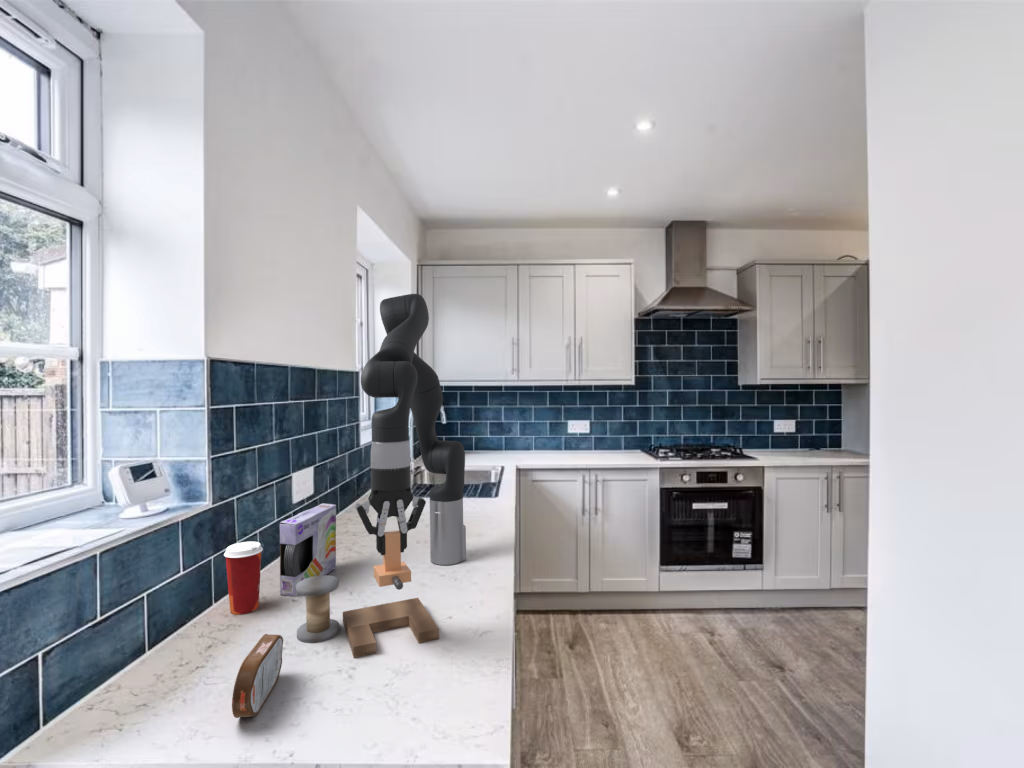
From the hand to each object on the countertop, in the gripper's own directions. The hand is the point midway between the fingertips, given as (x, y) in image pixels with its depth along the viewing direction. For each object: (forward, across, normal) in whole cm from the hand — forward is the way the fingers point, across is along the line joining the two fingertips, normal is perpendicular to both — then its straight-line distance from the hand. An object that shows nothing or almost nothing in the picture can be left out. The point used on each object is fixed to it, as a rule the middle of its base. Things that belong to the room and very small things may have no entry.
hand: (391, 552), depth 101 cm
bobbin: (+17, +13, -9) cm, 23 cm away
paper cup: (+17, +27, -28) cm, 42 cm away
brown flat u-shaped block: (+17, 0, -4) cm, 17 cm away
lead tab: (+5, 0, +2) cm, 6 cm away
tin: (+17, +23, +10) cm, 30 cm away
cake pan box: (+17, +13, -38) cm, 44 cm away
